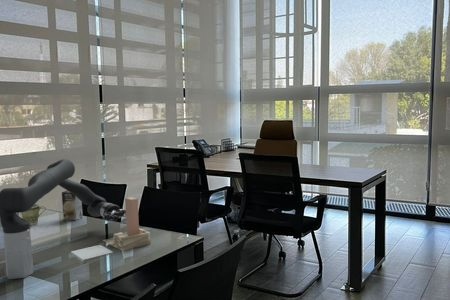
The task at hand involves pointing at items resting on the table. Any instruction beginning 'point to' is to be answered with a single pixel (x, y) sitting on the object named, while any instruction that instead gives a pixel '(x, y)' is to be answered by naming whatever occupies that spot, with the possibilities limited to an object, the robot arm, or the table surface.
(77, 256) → the mat
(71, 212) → the coffee box
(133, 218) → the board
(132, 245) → the rack
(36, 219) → the ceramic cup
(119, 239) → the offcut stack
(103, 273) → the table surface
